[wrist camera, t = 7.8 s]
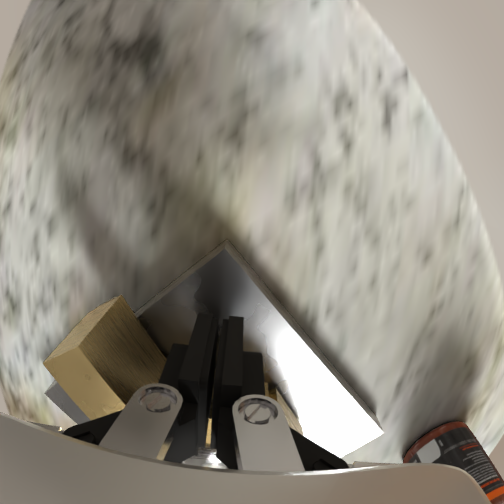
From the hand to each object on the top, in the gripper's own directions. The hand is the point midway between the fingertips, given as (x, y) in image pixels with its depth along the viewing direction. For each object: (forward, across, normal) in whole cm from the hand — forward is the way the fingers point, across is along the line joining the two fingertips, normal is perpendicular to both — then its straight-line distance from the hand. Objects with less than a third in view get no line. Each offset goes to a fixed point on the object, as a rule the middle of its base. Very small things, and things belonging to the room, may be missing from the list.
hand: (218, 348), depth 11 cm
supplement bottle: (+3, -17, +11) cm, 20 cm away
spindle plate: (+3, 0, +6) cm, 7 cm away
